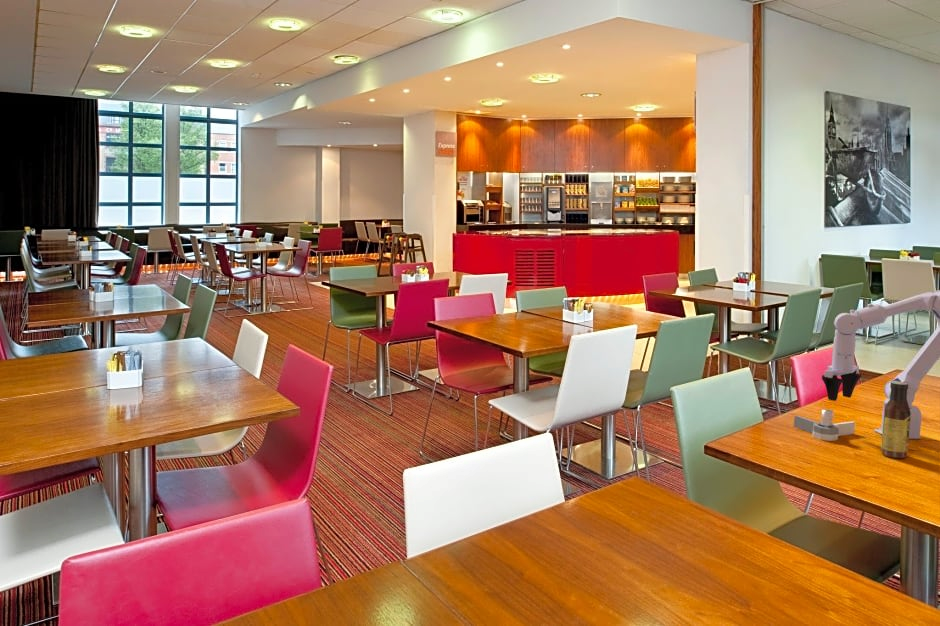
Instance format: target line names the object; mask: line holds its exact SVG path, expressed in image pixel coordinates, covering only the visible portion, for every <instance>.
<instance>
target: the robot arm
mask: <svg viewBox="0 0 940 626" xmlns="http://www.w3.org/2000/svg"><path fill="white" fill-rule="evenodd" d="M916 310H922V311H926V312H932V313H933V314H934V317H935V320H936V323H937V328H936V329H935V330H934V332H933V333H932V334H931V335H930V336H929V338H928V339H927V340H926V341H925V343H924V344H923V345H922V347H921V348H920V349H919V351H918V352H917V353H916V354H915V356H914V357H913V359H911V361H910V362H909V364H907V366H906V367H905V369H904V370H903V371H901V372H899V373H898V374H897V375H896V376H895V378H893V379H892V380H889V381H887V383H885V385H884V388H883V392H884V395H885V397H886V398H885V400H884V401H883V404H882V405H883V407H882V417H881V425H880V428H874V429H873V430H874V432H876V433H878V434H880V435H882V430H883V417H884V410H885V405H886V404H887V403H888V401H889V400H890V395H891V387H890V385H891V382H895V381H896V382H904V383H908V390H907V402H908V405H909V409H910V412H911V419H910V432H909V440H910V439H913V440H914V439H915V440H916V439H917V440H918V439H922V436H920V435H921V427H922V426H921V425H922V411H921V409H920V408H919V407H918V406H917V405H913V403H914V401H915V397H916V393H917V392H918V390H919V388H920V385H921V382H922V381H923V379H924V378H925V377H926V375H927V374H928V373H929V371H930V370H931V369H932V368H933V366H934V365H935V364H936V363H937V361H938V360H939V359H940V289H938V290H934V291H932V292H931V291H928V292H923V293H920V294H917V295H914V296H911V297H908V298H905V299H902V300H899V301H896V302H893V303H889V304H887V305H884V306H883V305H880V304H878V303H875V304H873V303H869V304H868V303H867V306H866V307H862V308H858V309H855V310H854V309H850V310H849V312H842V313H839V314H838V315H837V316H836V317H835V319H834V321H833V325H834V327H835V330H834V337H833V344H832V345H833V346H832V356H831V358H832V360H831V365H828V366H827V369H825V370H824V374H823V375H821V380H822V381H823V383H824V385H825V389H826V393H827V399H828V400H829V401H833V402H835V401H837V400H838V396H839V392H840V391H839V390H840V387H841V386H842V390H841V391H842V397H845V398H851V397H852V395H853V393H854V390H855V387H856V385H857V384H858V382H859V380H860V379H861V377H862V374H860V373H859V371H860V366H858V365H855V363H854V362H855V352H856V333H857V331H858V330H863V329H867V328H871V327H873V326H876V325H880V324H881V325H882V324H884V323H885V322H886V320H887V318H889V317H892V316H896V315H901V314H904V313H909V312H912V311H916ZM838 376H840V377H841V378H839V377H838Z"/></svg>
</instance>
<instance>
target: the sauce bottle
mask: <svg viewBox="0 0 940 626" xmlns="http://www.w3.org/2000/svg"><path fill="white" fill-rule="evenodd" d="M890 387H891V395H890V400H889V401H888V403H887V404H886V405H885V410H884V417H883V430H882V434H881V447H880V449H881V454H882V455H883V456H885V457H888V458H893V459H905V458H907V457H908V452H909V442H910V439H909V432H910V419H911V412H910V409H909V405H908V402H907V390H908V383H904V382H896V381H895V382H891V385H890Z"/></svg>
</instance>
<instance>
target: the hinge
mask: <svg viewBox="0 0 940 626" xmlns="http://www.w3.org/2000/svg"><path fill="white" fill-rule="evenodd" d="M795 427H797V428H796V429H798V428H799V429H798V430H801V429H802V430H801V431H804V430H805V431H804V432H808V433H810V434H812V438H814V439H818V440H820V441H828V442H833V441H838V440H839V437H841V436H847V435H848V436H849V435H854V434H855V429H856V428H855V427H856V421H854V420H853V421H845V422H837V423H832V428H826V427H821V421H819V422H818V421H816V420H812V419H808V418H807V417H803V416H801V415H797V414H796V415H794V417H793V428H795Z"/></svg>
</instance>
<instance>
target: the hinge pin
mask: <svg viewBox="0 0 940 626" xmlns="http://www.w3.org/2000/svg"><path fill="white" fill-rule="evenodd" d="M820 416H821V417H820V422H821V427H826V428H832V424H834V423H833V422H834V421H833V420H834V410H833V409H827V408H824V409H823V408H822V409H821V415H820Z"/></svg>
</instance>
